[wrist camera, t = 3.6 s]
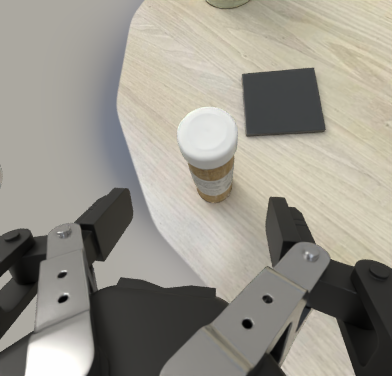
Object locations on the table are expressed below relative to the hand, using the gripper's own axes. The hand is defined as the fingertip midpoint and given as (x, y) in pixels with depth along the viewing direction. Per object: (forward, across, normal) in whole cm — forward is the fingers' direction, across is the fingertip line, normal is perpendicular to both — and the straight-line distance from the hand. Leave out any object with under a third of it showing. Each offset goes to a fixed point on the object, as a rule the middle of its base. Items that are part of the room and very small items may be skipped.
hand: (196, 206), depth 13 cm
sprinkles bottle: (+15, 0, +7) cm, 17 cm away
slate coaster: (+24, -8, -2) cm, 26 cm away
